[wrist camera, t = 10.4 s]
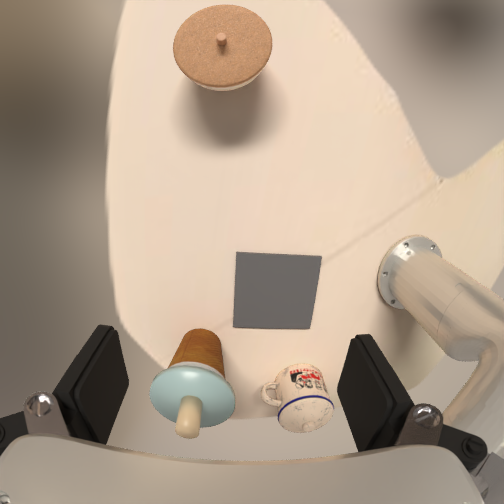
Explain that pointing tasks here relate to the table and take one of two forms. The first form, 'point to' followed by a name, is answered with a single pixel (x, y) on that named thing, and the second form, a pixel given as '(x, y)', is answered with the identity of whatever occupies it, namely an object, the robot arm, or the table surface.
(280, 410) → the teacup with lid
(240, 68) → the lidded jar
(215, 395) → the cover
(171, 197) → the table surface
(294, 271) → the mat
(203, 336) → the disposable coffee cup
